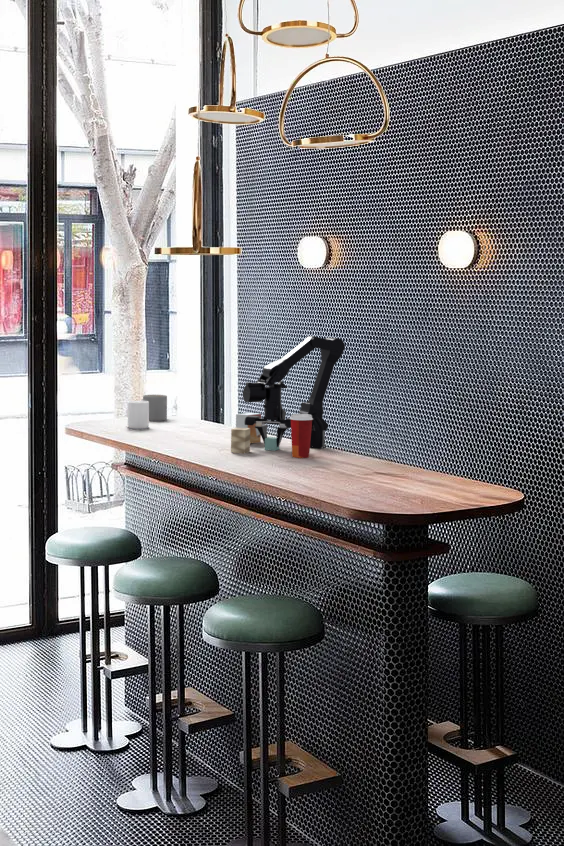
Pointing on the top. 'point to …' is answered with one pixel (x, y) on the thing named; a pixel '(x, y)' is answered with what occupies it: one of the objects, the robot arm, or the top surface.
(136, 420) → the mug
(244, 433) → the birch upper block
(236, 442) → the birch lower block
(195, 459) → the top surface
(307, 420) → the paper cup
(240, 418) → the small box
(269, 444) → the teal cube
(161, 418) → the coffee mug
